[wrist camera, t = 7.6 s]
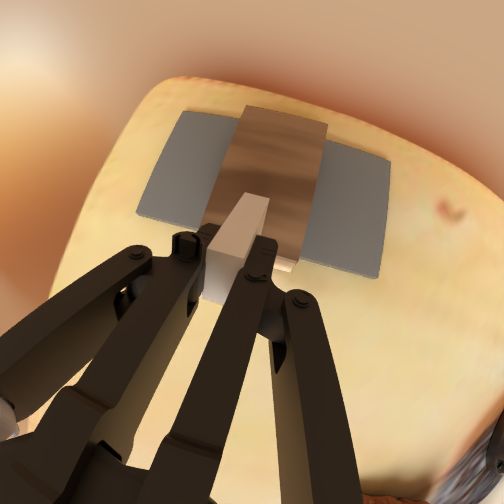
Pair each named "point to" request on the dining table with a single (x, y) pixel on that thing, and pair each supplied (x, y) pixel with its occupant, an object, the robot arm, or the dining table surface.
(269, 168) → the walnut block
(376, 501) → the pastry
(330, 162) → the mat
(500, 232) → the dining table surface
